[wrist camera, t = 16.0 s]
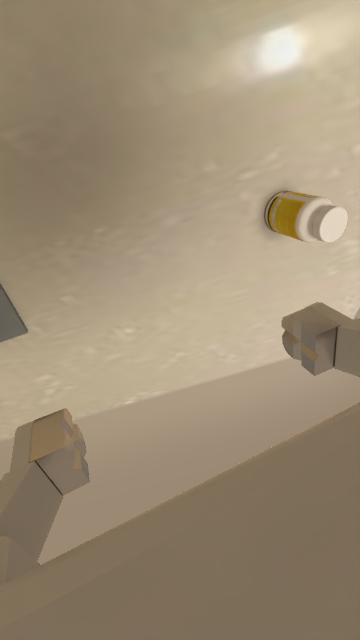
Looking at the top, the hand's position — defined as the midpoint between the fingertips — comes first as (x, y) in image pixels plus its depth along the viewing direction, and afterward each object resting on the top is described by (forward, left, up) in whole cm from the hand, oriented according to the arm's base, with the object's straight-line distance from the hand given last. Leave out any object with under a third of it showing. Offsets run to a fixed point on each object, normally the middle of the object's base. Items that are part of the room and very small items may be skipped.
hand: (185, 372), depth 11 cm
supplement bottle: (+6, +25, -29) cm, 39 cm away
